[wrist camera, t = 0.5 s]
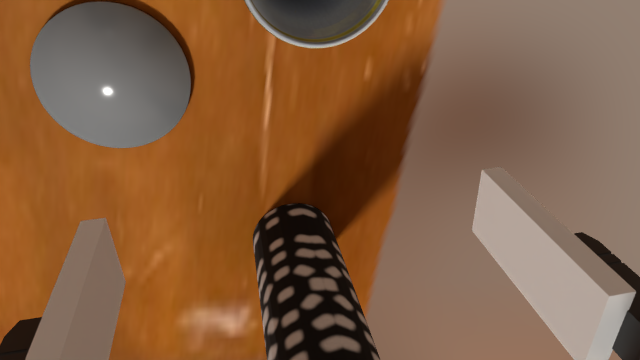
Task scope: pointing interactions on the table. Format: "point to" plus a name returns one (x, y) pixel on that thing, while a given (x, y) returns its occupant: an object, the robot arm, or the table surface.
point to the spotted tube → (307, 290)
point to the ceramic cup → (316, 19)
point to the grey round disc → (110, 74)
